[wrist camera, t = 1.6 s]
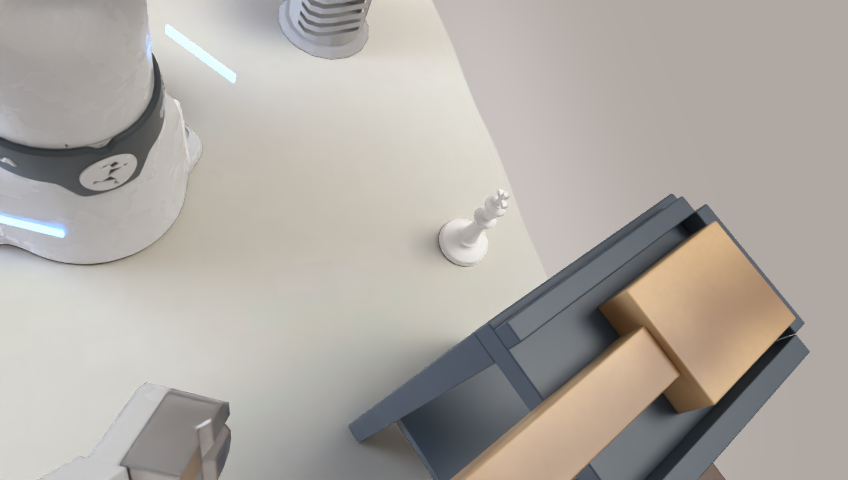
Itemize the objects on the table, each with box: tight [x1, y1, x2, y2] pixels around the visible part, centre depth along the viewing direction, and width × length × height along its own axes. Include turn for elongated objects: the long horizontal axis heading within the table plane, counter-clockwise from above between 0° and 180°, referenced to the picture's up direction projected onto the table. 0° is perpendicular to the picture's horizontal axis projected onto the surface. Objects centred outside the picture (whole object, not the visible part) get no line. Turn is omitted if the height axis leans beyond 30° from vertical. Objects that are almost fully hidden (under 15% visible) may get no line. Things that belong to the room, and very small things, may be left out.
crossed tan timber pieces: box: [450, 221, 796, 480], centre depth 24 cm, size 6×20×2 cm, turn 127°
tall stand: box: [348, 194, 809, 480], centre depth 39 cm, size 10×14×29 cm
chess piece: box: [439, 189, 509, 266], centre depth 55 cm, size 5×5×10 cm
